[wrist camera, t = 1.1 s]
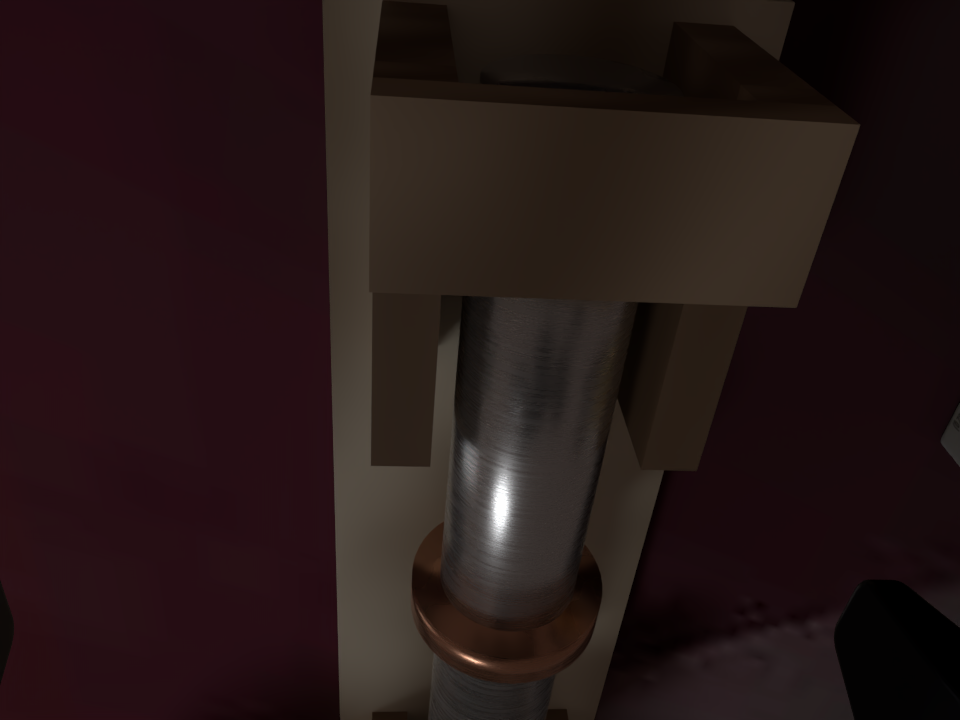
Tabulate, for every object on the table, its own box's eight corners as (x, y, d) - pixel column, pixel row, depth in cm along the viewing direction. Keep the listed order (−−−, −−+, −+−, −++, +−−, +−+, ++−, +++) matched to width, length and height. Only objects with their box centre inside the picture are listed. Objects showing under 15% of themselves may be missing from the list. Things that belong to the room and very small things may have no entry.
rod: (682, 52, 16) (769, 142, 12) (553, 655, 27) (577, 805, 23) (434, 36, 16) (443, 123, 12) (404, 656, 26) (403, 809, 23)
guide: (776, -9, 17) (948, 93, 11) (578, 737, 32) (611, 930, 27) (326, -43, 16) (283, 50, 11) (343, 741, 31) (328, 942, 26)
